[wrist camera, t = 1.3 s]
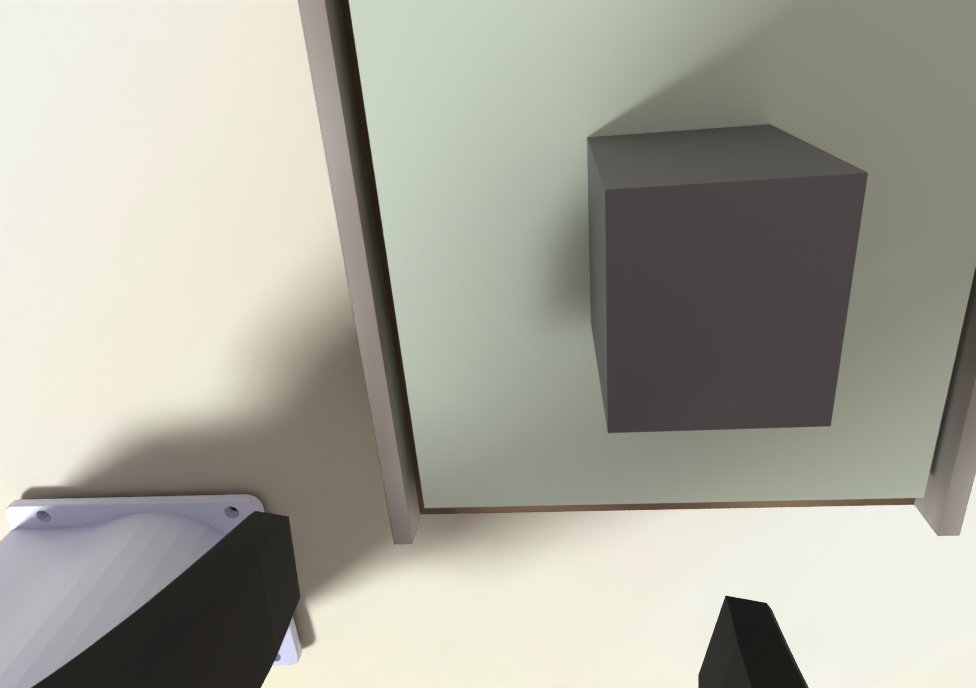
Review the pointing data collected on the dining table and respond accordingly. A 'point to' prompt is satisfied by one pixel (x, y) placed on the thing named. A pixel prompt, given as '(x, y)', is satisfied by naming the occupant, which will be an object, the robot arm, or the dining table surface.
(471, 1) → the sliding lid
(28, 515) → the robot arm
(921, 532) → the dining table surface
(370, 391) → the wooden box
